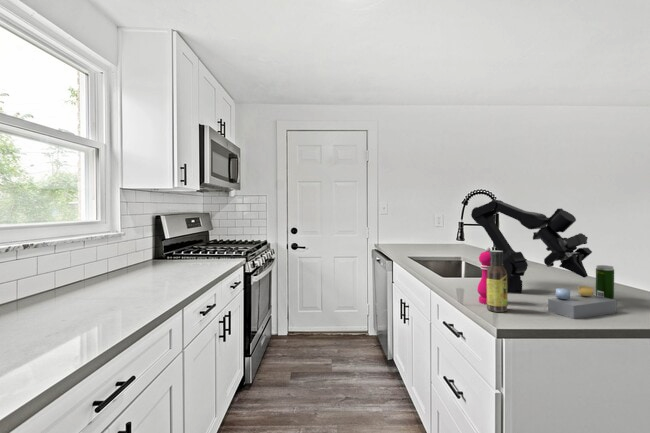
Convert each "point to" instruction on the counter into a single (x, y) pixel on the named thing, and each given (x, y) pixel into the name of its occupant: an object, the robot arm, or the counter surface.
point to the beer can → (605, 281)
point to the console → (582, 306)
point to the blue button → (563, 293)
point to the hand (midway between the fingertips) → (586, 276)
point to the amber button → (586, 291)
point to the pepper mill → (484, 275)
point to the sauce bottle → (496, 283)
